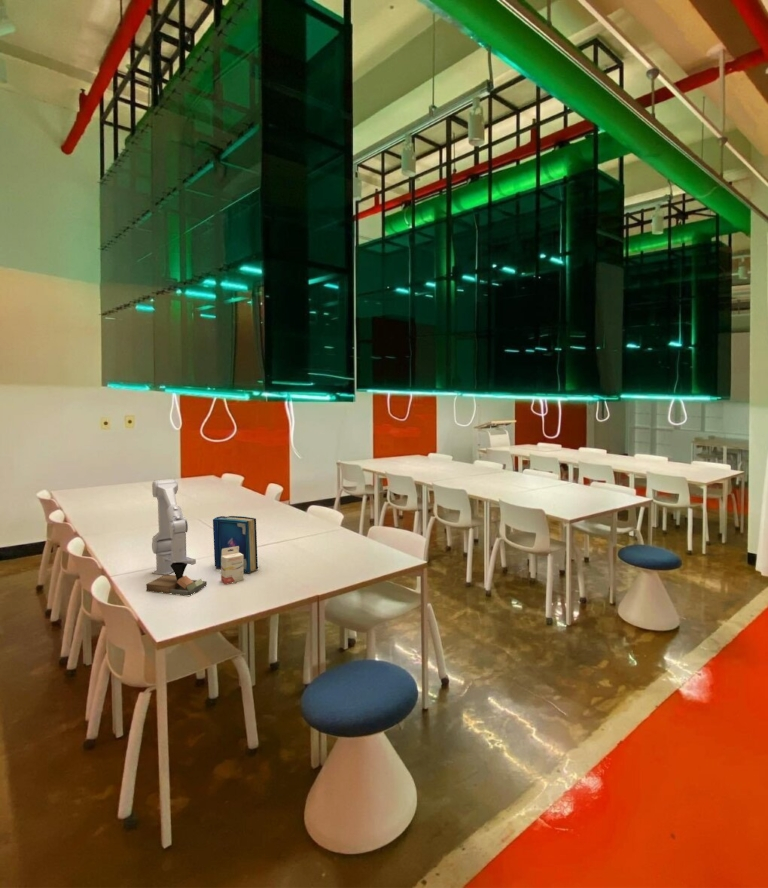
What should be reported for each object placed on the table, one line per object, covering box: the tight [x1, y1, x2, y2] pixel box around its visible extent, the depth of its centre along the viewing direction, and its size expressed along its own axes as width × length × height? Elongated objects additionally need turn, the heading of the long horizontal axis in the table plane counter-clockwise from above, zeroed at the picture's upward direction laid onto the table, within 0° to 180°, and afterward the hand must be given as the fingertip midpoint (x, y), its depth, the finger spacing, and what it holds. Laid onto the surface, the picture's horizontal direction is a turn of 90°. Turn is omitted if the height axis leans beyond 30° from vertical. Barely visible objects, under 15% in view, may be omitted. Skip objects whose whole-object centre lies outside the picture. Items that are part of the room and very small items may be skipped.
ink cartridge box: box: [220, 546, 245, 585], centre depth 216 cm, size 9×5×15 cm, turn 131°
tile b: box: [187, 578, 204, 591], centre depth 205 cm, size 4×4×2 cm
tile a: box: [177, 575, 194, 589], centre depth 206 cm, size 4×4×2 cm
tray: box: [170, 579, 207, 596], centre depth 206 cm, size 12×9×2 cm
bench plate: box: [145, 574, 181, 594], centre depth 208 cm, size 12×11×3 cm
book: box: [212, 515, 259, 574], centre depth 231 cm, size 22×7×25 cm, turn 68°
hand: (179, 579), depth 207 cm, fingers closed
